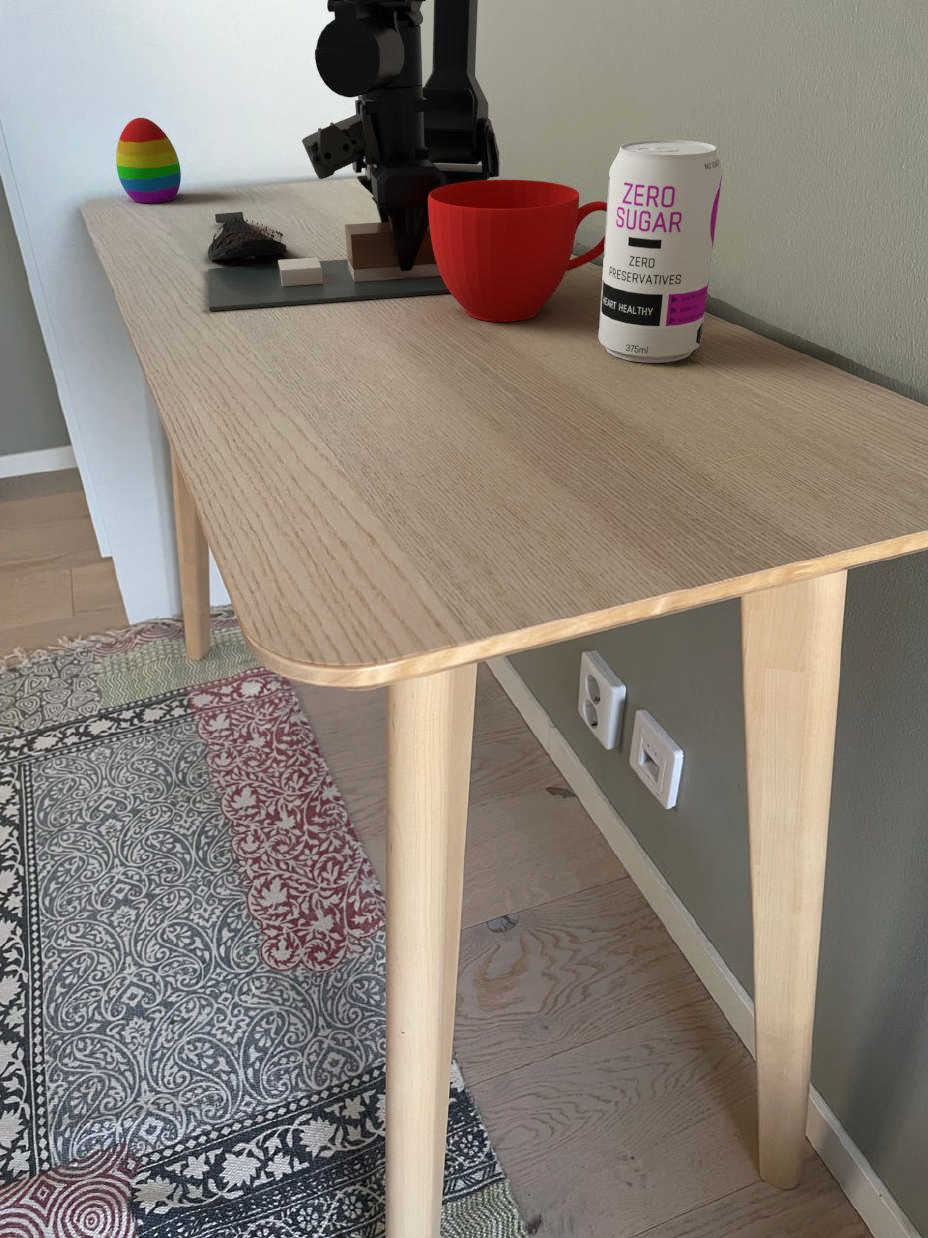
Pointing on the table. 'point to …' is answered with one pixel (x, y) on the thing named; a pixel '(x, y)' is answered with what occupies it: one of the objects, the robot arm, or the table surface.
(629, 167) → the white soda can
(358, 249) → the eraser
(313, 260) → the chalk
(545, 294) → the ceramic cup
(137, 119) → the decorative egg
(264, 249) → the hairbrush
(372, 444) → the table surface
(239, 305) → the slate board
